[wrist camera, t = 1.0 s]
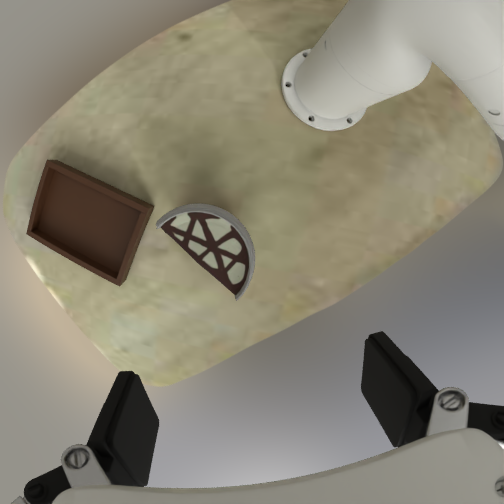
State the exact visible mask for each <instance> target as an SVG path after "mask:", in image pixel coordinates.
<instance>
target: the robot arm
mask: <svg viewBox="0 0 504 504" xmlns="http://www.w3.org/2000/svg"><path fill="white" fill-rule="evenodd" d="M303 56H305V57H306V58H305V57H303ZM432 62H433V63H435V64H436V65H437V66H438V67H439V68H440V69H441V70H442V71H443V72H444V73H445V74H446V75H447V76H448V77H449V78H451V79H452V81H453V82H454V83H455V84H456V85H457V86H458V87H459V88H460V90H461V91H462V92H463V93H464V94H465V95H466V97H467V98H468V99H469V100H470V101H471V103H472V104H473V105H474V106H475V108H476V109H477V110H478V111H479V113H480V114H481V115H482V116H483V118H484V119H485V120H486V122H487V123H488V124H489V126H490V127H491V128H492V129H493V131H494V132H495V133H496V134H497V135H498V136H499V137H500V138H501V139H502V140H503V141H504V0H349V1H348V2H347V4H346V5H345V6H344V8H343V9H342V10H341V12H340V13H339V14H338V16H337V17H336V18H335V20H334V21H333V22H332V24H331V25H330V26H329V27H328V29H327V30H326V31H325V33H324V34H323V35H322V37H321V38H320V39H319V41H318V42H317V43H316V45H315V46H314V47H313V48H311V49H307V50H304V51H302V52H300V53H298V54H296V55H295V56H294V57H293V58H291V60H290V61H289V62H288V64H287V65H286V67H285V69H284V72H283V75H282V82H281V86H282V93H283V96H284V99H285V101H286V103H287V105H288V107H289V108H290V109H291V111H292V112H293V113H294V114H295V115H296V116H297V117H298V118H299V119H300V120H301V121H303V122H305V123H306V124H308V125H309V126H312V127H314V128H317V129H321V130H325V131H337V130H342V129H345V128H348V127H350V126H352V125H354V124H355V123H356V122H358V121H359V120H360V119H361V118H362V116H363V115H364V113H365V111H366V109H367V107H368V106H371V105H373V104H376V103H378V102H380V101H383V100H385V99H388V98H390V97H393V96H396V95H398V94H400V93H403V92H405V91H408V90H410V89H412V88H414V87H416V86H417V85H419V84H420V83H421V82H422V81H423V80H424V78H425V77H426V76H427V74H428V72H429V70H430V67H431V63H432ZM286 85H288V86H289V87H286ZM308 118H311V121H309V119H308ZM347 120H348V121H349V123H348V122H347ZM361 390H362V393H363V395H364V397H365V399H366V400H367V402H368V404H369V405H370V407H371V409H372V411H373V412H374V414H375V416H376V417H377V419H378V421H379V422H380V424H381V426H382V428H383V429H384V431H385V433H386V435H387V436H388V438H389V440H390V442H391V443H392V445H393V446H394V447H398V448H396V449H393V450H390V451H388V452H385V453H382V454H379V455H376V456H374V457H370V458H367V459H365V460H361V461H358V462H355V463H352V464H349V465H345V466H342V467H338V468H335V469H331V470H327V471H323V472H319V473H315V474H310V475H306V476H301V477H296V478H291V479H286V480H280V481H274V482H267V483H260V484H252V485H243V486H232V487H217V488H151V487H144V486H147V484H148V479H149V473H150V468H151V463H152V458H153V453H154V448H155V442H156V437H157V433H158V427H159V419H158V416H157V414H156V412H155V410H154V408H153V406H152V404H151V402H150V400H149V398H148V395H147V393H146V391H145V389H144V386H143V384H142V382H141V379H140V377H139V375H138V374H135V373H134V372H133V371H120V372H119V373H118V376H117V377H116V380H115V382H114V384H113V386H112V388H111V390H110V393H109V395H108V397H107V399H106V402H105V403H104V405H103V407H102V409H101V412H100V414H99V416H98V418H97V421H96V423H95V425H94V428H93V430H92V433H91V435H90V437H89V440H88V442H87V445H82V444H77V445H73V446H71V447H69V448H67V449H66V450H65V451H64V453H63V454H62V457H61V463H62V465H61V466H59V467H58V468H56V469H54V470H52V471H49V472H47V473H45V474H43V475H41V476H39V477H37V478H34V479H32V480H31V481H29V482H28V483H27V484H26V486H25V488H24V497H23V498H22V497H20V496H19V497H18V498H17V499H16V500H14V501H13V502H12V503H11V504H504V406H497V405H487V404H479V403H471V402H469V398H468V396H467V394H466V393H465V392H464V391H463V390H461V389H459V388H454V387H447V388H443V389H442V390H440V391H438V389H436V387H435V386H434V385H433V384H432V383H431V382H430V380H429V379H428V378H427V377H426V376H425V375H424V374H423V373H422V371H420V369H419V368H418V367H417V366H416V365H415V364H414V363H413V362H412V360H411V359H410V358H409V357H407V356H406V355H404V354H403V352H402V351H401V350H400V349H399V348H398V347H397V346H396V345H395V344H394V343H393V342H392V340H391V339H390V338H389V337H388V336H387V335H386V334H385V333H384V332H383V331H381V332H378V333H374V334H370V335H369V337H368V339H366V340H365V349H364V362H363V373H362V383H361Z"/></svg>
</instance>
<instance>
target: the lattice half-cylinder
mask: <svg viewBox="0 0 504 504" xmlns="http://www.w3.org/2000/svg"><path fill="white" fill-rule="evenodd" d="M156 226H157V228H156V229H158V228H162V229H163V230H164V232H165V233H167V234H168V235H169V236H170V237H172V238H173V239H174V240H175V241H176V242H177V243H178V244H179V245H180V246H181V247H182V248H183V249H184V250H185V251H186V252H187V253H188V254H189V255H190V256H191V257H192V258H193V259H194V260H195V261H196V262H197V263H198V264H200V265H201V266H202V267H203V268H204V269H206V270H207V271H208V272H209V273H210V274H212V275H213V276H214V277H215V278H216V279H217V280H218V281H220V282H221V283H222V284H223V285H224V286H225V287H226V288H227V289H229V290H230V291H231V292H232V293H233V294H234V295H235V299H236V301H237V300H238V299H239V298H240V297H241V296H242V295H243V294H244V292H245V291H246V289H247V288H248V285H249V283H250V281H251V278H252V275H253V272H254V267H255V250H254V246H253V242H252V240H251V237H250V235H249V233H248V231H247V230H246V228H245V227H244V225H243V224H242V223H241V222H240V221H239V220H238V219H237V218H236V217H235V216H233V215H232V214H231V213H229V212H227V211H226V210H224V209H222V208H219V207H217V206H213V205H209V204H198V203H195V204H187V205H183V206H180V207H177V208H175V209H173V210H171V211H169V212H168V213H166V214H165V215H163V216H162V217H161V218H160V219H159V220H158V221H157V223H156Z"/></svg>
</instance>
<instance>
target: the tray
mask: <svg viewBox="0 0 504 504" xmlns="http://www.w3.org/2000/svg"><path fill="white" fill-rule="evenodd" d="M153 208H154V206H153V205H151V204H149V203H147V202H145V201H143V200H140V199H138V198H136V197H134V196H132V195H130V194H128V193H126V192H123V191H121V190H119V189H117V188H115V187H113V186H111V185H109V184H107V183H104V182H102V181H100V180H98V179H96V178H94V177H92V176H90V175H88V174H85V173H83V172H81V171H79V170H77V169H75V168H73V167H71V166H68V165H66V164H64V163H62V162H60V161H58V160H47V161H46V164H45V167H44V170H43V173H42V176H41V180H40V183H39V186H38V190H37V193H36V197H35V200H34V204H33V208H32V212H31V216H30V220H29V225H28V229H27V235H29V236H30V237H32V238H34V239H35V240H37V241H39V242H40V243H42V244H44V245H45V246H47V247H49V248H50V249H52V250H54V251H55V252H57V253H59V254H61V255H62V256H64V257H66V258H68V259H69V260H71V261H73V262H75V263H76V264H78V265H80V266H82V267H84V268H86V269H87V270H89V271H91V272H93V273H95V274H97V275H99V276H101V277H102V278H104V279H106V280H108V281H110V282H112V283H114V284H116V285H118V286H121V284H122V283H123V282H124V281H125V280H126V278H127V275H128V272H129V270H130V267H131V264H132V261H133V259H134V256H135V253H136V251H137V248H138V245H139V243H140V240H141V238H142V235H143V233H144V230H145V228H146V225H147V223H148V220H149V218H150V215H151V213H152V211H153Z"/></svg>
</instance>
